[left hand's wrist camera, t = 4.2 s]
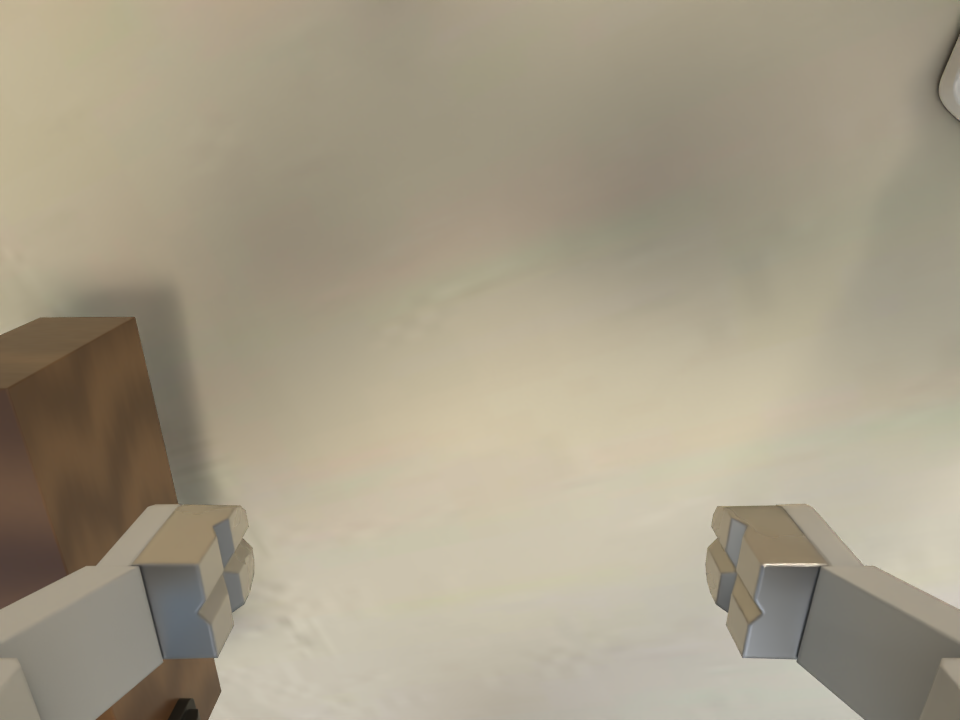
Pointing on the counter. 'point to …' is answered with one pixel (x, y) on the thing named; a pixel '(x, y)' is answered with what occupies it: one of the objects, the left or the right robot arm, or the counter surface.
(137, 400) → the bar
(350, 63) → the counter surface
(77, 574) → the left robot arm
